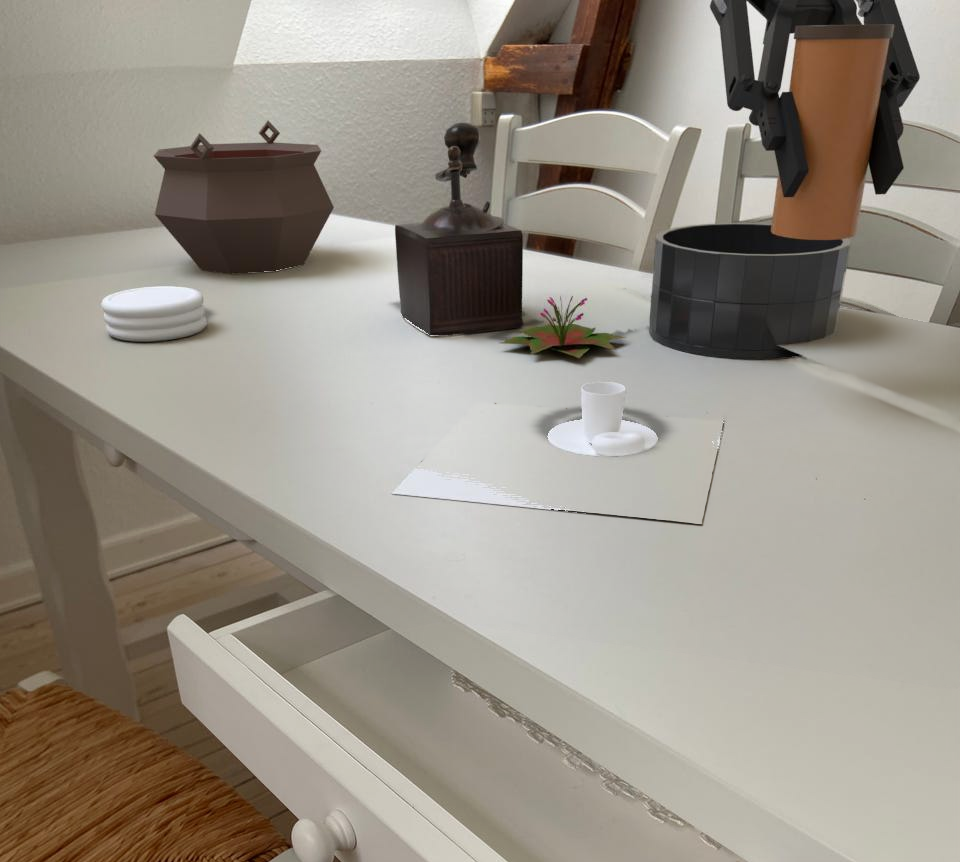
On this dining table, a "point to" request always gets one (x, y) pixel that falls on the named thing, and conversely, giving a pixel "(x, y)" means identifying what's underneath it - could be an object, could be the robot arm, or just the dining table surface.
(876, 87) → the travel tumbler
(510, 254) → the coffee grinder
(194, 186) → the brown cauldron
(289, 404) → the dining table surface
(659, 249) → the pot
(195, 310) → the coaster
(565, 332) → the lily flower
